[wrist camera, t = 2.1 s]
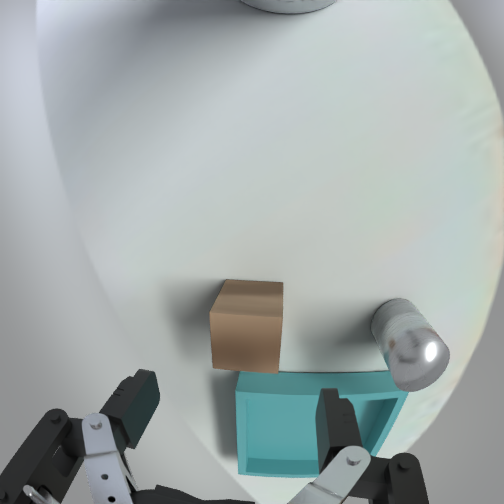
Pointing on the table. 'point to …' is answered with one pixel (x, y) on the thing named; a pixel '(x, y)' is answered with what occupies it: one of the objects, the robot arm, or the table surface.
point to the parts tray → (305, 417)
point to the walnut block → (247, 326)
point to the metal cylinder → (409, 345)
